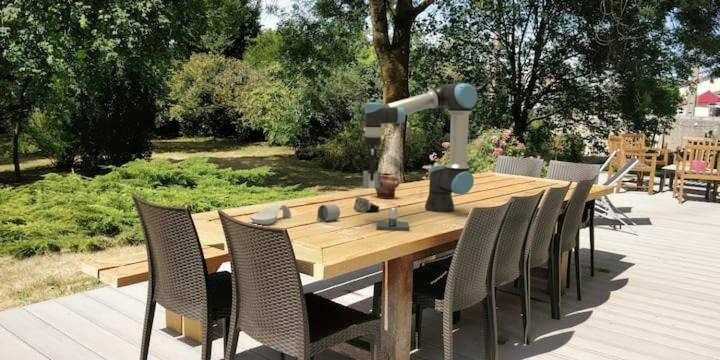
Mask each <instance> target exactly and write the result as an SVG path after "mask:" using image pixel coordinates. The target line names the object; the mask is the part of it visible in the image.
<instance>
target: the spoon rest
mask: <svg viewBox="0 0 720 360" xmlns="http://www.w3.org/2000/svg"><path fill="white" fill-rule="evenodd" d="M280 210H282V217H283V218H288V219H291V218H292V212H291V210H290V208H289V207H288V206H287V205H286V204H280V203H275V204H273V205H271V206H268V207H267V208H264V209H263V210H259V211H258V212H255V213H254V212H253V214H250V215H249V219H250V220H251V221H252V222H253V223H254V224H257V225H259V224H260V225H261V226H269V225H271V224H273V223H274V222H275V221H276V220H277V218H278V217H279V213H280Z"/></svg>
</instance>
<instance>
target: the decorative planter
mask: <svg viewBox="0 0 720 360" xmlns="http://www.w3.org/2000/svg"><path fill="white" fill-rule="evenodd" d="M399 185H400V183H399V181H398V178H397V176H396V175H395V174H392V173H381V183H380V188H374V189H375V192H376V196H377V197H378V198H380V199H394V198H395V196H396V189H397V188H398V187H399Z"/></svg>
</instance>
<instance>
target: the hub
mask: <svg viewBox="0 0 720 360" xmlns="http://www.w3.org/2000/svg"><path fill="white" fill-rule="evenodd" d="M368 172H369V170H363V171H362V187H363V188H365V189H370V188H369V173H368ZM381 174H382V171H379V170H376V171H375V188H380V183H381ZM375 188H374V189H375Z"/></svg>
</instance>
